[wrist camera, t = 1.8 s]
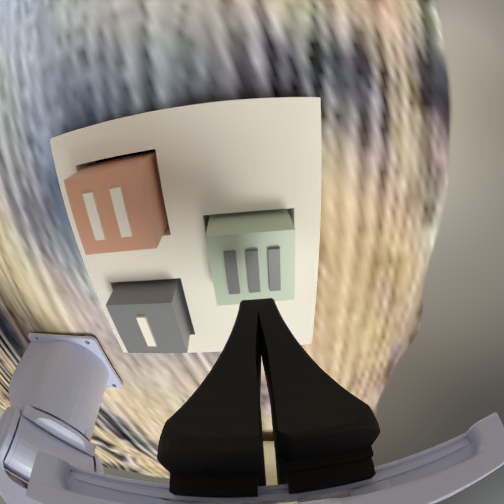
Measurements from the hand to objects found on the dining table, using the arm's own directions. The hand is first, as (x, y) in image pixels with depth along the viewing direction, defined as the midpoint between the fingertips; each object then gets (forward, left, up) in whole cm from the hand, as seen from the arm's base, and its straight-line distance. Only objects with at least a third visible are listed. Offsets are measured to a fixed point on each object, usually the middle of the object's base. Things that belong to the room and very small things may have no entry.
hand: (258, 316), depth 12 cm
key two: (-7, +4, -7) cm, 10 cm away
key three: (0, 0, -7) cm, 7 cm away
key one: (-7, -4, -7) cm, 10 cm away
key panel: (-4, 0, -8) cm, 9 cm away
